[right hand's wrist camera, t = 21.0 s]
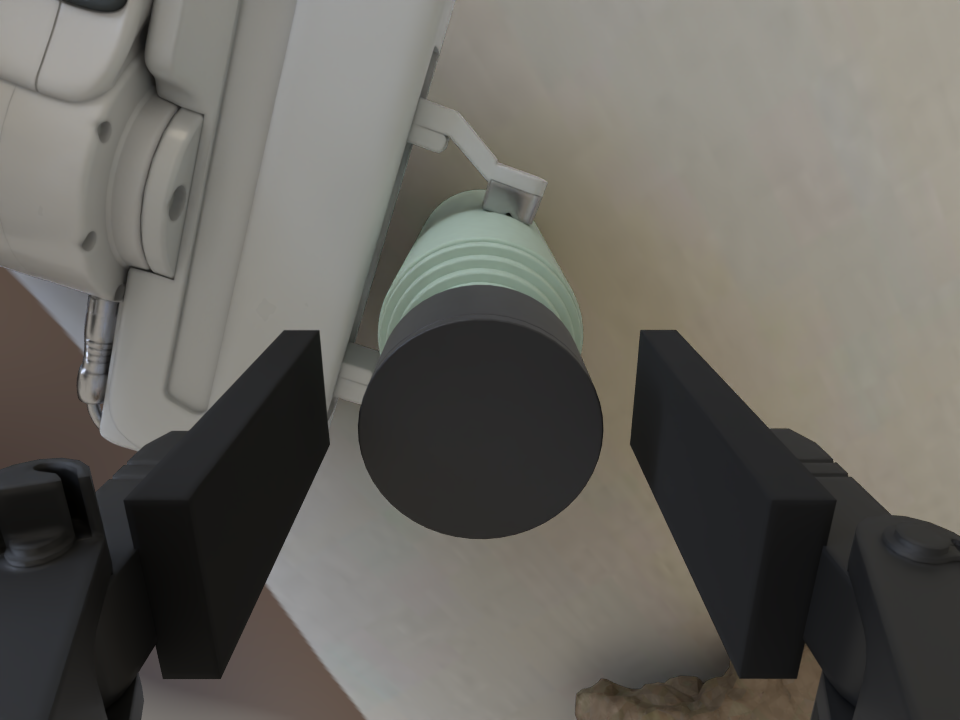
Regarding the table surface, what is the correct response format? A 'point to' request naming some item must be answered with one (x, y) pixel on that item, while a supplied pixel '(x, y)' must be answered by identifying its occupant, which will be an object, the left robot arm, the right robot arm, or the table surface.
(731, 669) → the stone
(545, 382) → the cap
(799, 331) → the table surface
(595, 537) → the table surface
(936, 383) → the table surface
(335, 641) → the table surface
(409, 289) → the bottle
